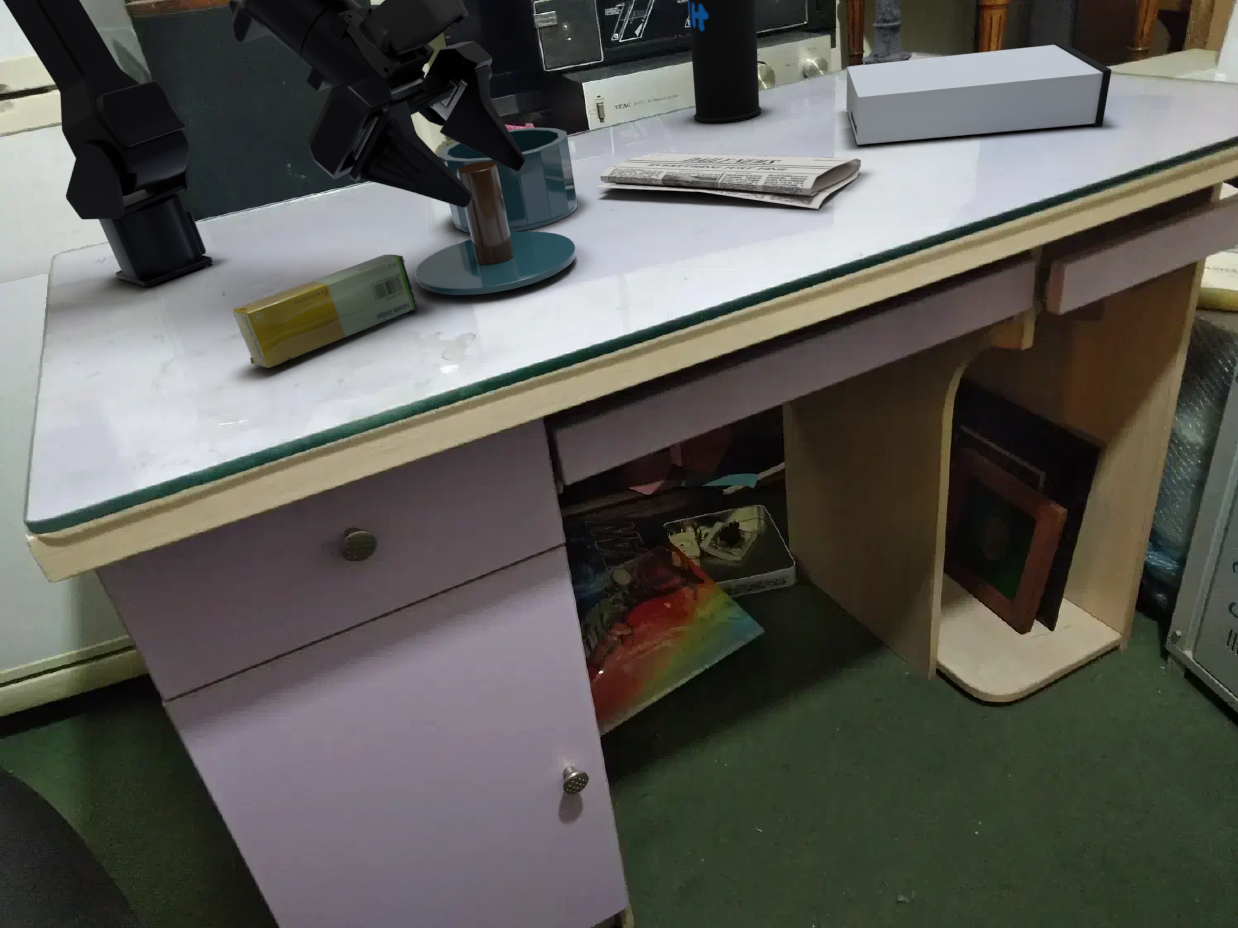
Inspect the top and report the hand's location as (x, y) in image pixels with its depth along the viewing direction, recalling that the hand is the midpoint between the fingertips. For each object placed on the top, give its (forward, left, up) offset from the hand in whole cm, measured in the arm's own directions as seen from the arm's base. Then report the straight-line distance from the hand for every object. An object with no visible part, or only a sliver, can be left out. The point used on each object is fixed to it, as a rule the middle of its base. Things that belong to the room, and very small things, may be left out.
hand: (497, 183), depth 64 cm
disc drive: (+53, -15, -7) cm, 55 cm away
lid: (0, +1, -6) cm, 6 cm away
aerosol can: (+51, +13, -7) cm, 53 cm away
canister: (+12, +11, -7) cm, 18 cm away
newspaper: (+25, -4, -7) cm, 26 cm away
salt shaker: (+67, 0, -7) cm, 67 cm away
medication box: (-15, +3, -7) cm, 16 cm away
